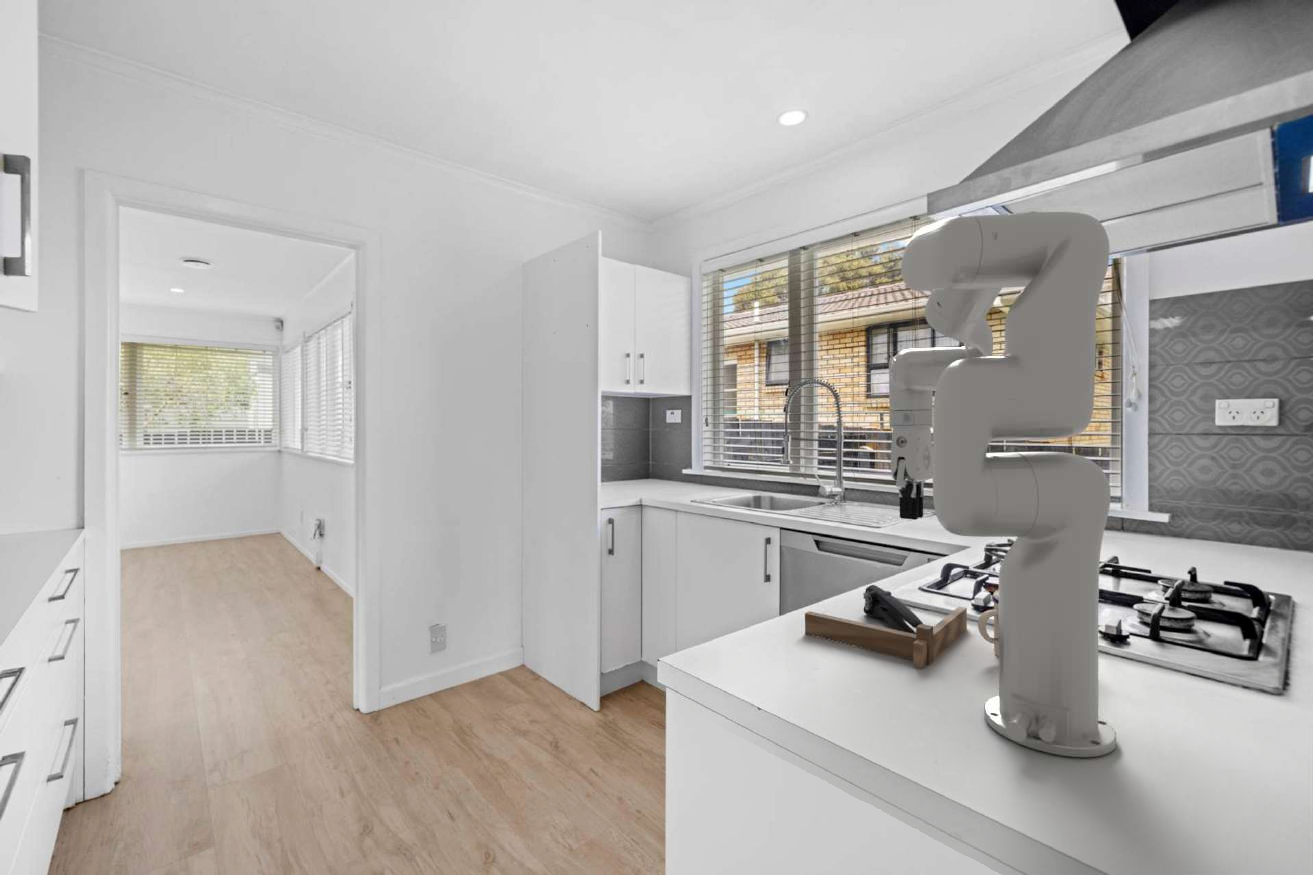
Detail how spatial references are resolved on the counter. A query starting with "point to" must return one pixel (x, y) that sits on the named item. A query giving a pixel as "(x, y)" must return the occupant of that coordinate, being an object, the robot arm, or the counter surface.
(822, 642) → the counter surface
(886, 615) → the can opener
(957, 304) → the robot arm
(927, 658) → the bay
